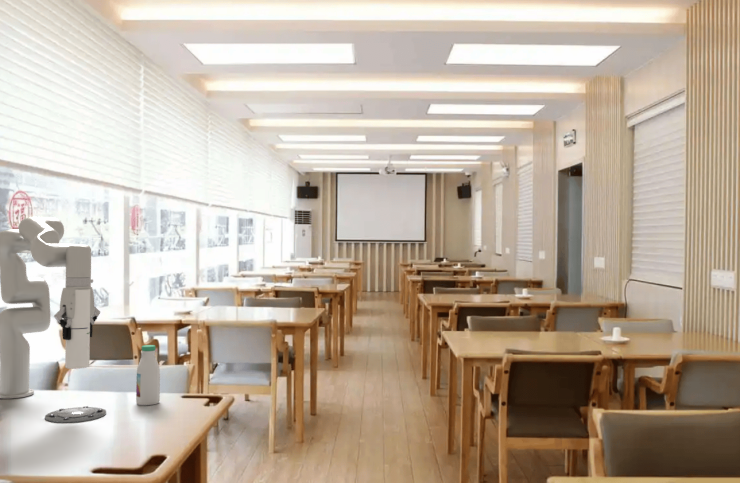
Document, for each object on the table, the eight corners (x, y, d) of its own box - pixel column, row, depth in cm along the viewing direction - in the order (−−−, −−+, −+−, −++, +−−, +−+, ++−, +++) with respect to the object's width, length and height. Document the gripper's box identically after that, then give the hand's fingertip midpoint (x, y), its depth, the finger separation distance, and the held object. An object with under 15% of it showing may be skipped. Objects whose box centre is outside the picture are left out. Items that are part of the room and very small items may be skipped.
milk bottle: (163, 401, 238) (163, 344, 238) (154, 406, 231) (154, 347, 231) (142, 400, 239) (142, 343, 239) (132, 405, 231) (132, 347, 231)
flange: (32, 417, 214) (32, 414, 214) (82, 406, 229) (82, 402, 229) (69, 425, 205) (69, 421, 205) (118, 413, 220) (118, 409, 220)
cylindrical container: (60, 367, 216) (61, 289, 216) (79, 364, 222) (80, 288, 223) (75, 369, 213) (76, 290, 213) (94, 366, 219) (95, 288, 219)
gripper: (93, 281, 227) (92, 334, 227) (46, 283, 212) (45, 340, 212) (108, 282, 224) (107, 336, 223) (61, 284, 208) (61, 342, 208)
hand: (77, 337), depth 218 cm, fingers closed on cylindrical container, 7 cm apart
